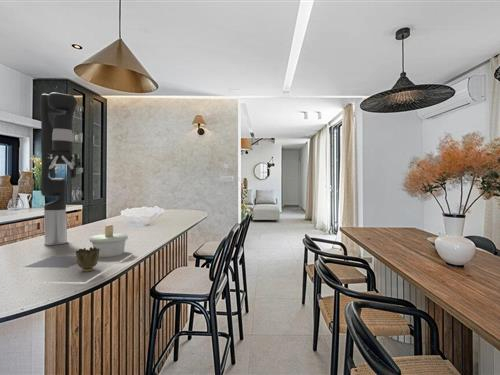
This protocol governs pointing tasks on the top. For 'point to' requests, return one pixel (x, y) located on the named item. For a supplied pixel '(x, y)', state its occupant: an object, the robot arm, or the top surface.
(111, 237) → the lid
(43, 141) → the robot arm
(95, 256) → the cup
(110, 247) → the ramekin
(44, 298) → the top surface
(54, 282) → the top surface
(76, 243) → the top surface
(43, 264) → the mat
